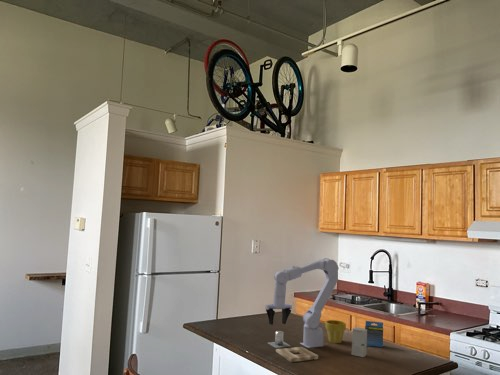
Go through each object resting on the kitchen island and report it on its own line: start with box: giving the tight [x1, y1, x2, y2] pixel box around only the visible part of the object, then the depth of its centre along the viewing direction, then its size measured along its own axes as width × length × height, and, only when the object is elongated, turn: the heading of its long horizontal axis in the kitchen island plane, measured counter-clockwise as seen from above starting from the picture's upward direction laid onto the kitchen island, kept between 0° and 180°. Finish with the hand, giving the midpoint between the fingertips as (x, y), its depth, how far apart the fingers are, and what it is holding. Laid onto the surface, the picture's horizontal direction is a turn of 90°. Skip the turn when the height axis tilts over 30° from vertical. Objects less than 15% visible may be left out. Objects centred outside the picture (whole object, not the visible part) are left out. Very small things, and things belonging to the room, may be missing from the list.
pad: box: [267, 341, 291, 349], centre depth 206 cm, size 9×9×1 cm
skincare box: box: [351, 326, 367, 358], centre depth 195 cm, size 6×4×12 cm
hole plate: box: [275, 346, 319, 363], centre depth 190 cm, size 14×14×2 cm
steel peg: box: [274, 330, 284, 346], centre depth 206 cm, size 4×4×6 cm
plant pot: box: [325, 319, 347, 344], centre depth 217 cm, size 10×10×10 cm
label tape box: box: [364, 320, 384, 348], centre depth 212 cm, size 9×4×12 cm, turn 74°
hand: (277, 324), depth 206 cm, fingers open, 7 cm apart
